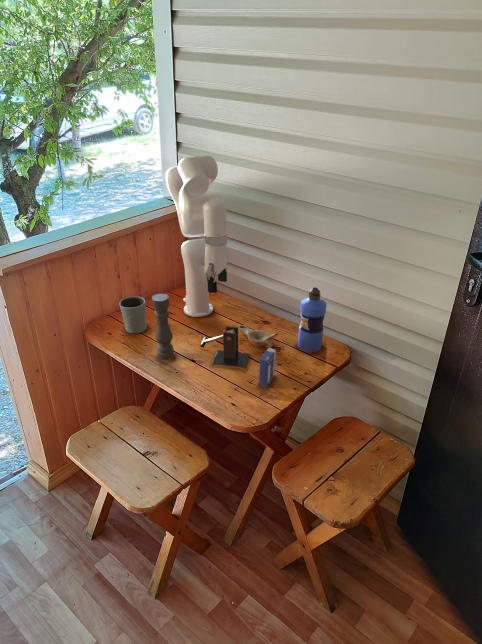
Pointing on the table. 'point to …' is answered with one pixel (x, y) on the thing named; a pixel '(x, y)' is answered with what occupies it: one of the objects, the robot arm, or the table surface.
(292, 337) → the table surface
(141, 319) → the grey green planter pot
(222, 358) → the switch base
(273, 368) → the walkman
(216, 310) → the table surface
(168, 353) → the candle holder
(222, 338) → the switch lever
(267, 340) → the oil lamp
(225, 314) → the table surface
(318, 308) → the water bottle
